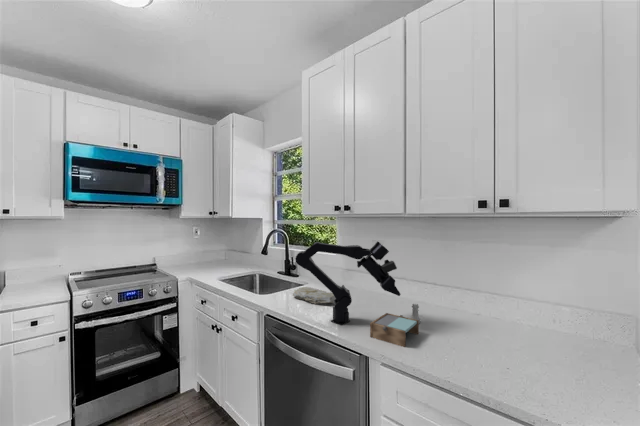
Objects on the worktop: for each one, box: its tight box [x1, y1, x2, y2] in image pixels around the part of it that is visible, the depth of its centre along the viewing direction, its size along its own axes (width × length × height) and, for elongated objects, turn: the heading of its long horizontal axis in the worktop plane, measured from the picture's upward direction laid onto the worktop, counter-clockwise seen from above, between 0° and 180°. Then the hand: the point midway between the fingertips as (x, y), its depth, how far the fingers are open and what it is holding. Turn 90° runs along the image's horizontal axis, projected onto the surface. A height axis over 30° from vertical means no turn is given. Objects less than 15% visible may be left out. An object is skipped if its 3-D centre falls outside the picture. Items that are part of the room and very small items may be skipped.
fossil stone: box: [292, 286, 336, 305], centre depth 163 cm, size 28×15×5 cm, turn 45°
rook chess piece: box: [410, 303, 421, 324], centre depth 130 cm, size 4×4×8 cm
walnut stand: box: [369, 312, 420, 348], centre depth 116 cm, size 14×16×6 cm
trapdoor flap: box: [375, 315, 417, 333], centre depth 115 cm, size 12×12×2 cm
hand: (397, 292), depth 130 cm, fingers open, 9 cm apart
